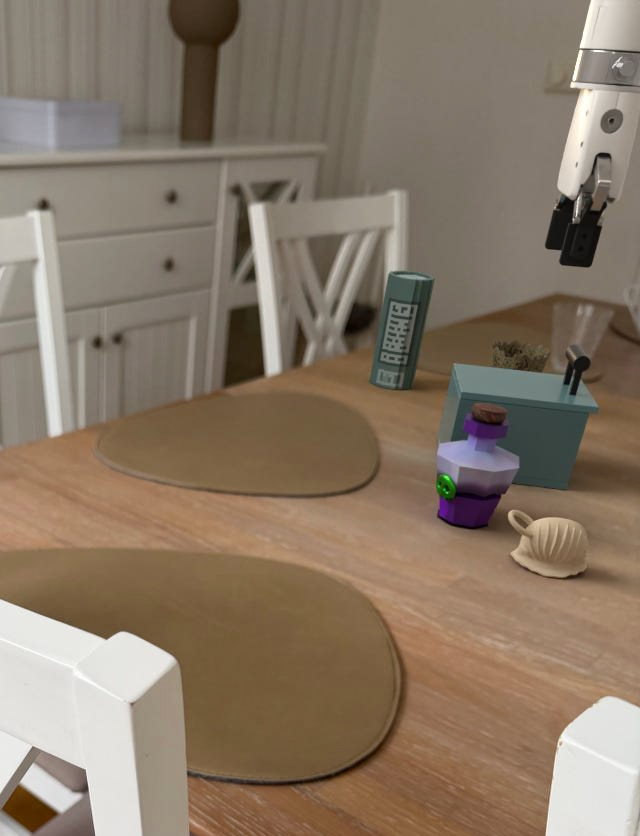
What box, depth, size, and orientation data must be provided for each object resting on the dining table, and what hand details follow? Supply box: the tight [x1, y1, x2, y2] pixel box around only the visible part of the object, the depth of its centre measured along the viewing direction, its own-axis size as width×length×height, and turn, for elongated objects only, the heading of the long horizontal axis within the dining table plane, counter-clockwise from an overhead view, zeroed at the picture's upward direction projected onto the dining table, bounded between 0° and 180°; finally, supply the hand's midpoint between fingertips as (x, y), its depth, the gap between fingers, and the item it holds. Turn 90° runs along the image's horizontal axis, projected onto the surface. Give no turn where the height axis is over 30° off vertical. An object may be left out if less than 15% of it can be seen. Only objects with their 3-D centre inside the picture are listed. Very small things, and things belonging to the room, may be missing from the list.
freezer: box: [436, 370, 590, 491], centre depth 114 cm, size 14×12×9 cm
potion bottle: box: [435, 403, 519, 530], centre depth 99 cm, size 9×9×12 cm
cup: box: [490, 339, 551, 373], centre depth 135 cm, size 8×7×8 cm
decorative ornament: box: [507, 509, 589, 579], centre depth 92 cm, size 4×8×5 cm, turn 75°
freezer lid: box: [451, 344, 600, 415], centre depth 110 cm, size 15×12×5 cm
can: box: [368, 269, 436, 391], centre depth 138 cm, size 6×6×15 cm
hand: (566, 257), depth 105 cm, fingers open, 9 cm apart
